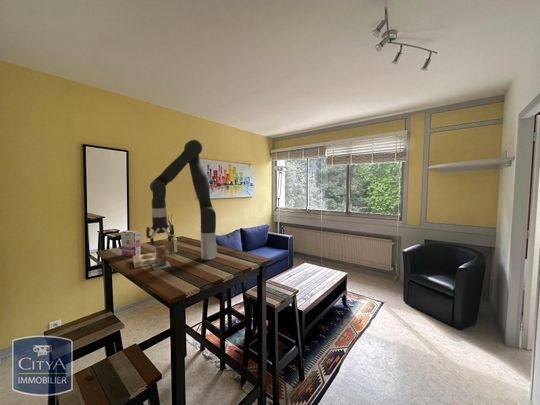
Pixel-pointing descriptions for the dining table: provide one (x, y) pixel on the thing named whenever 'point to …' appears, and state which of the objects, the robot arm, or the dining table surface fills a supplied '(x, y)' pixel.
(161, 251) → the walnut block
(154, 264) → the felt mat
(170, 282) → the dining table surface
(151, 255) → the pocket frame
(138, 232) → the candy bar box
